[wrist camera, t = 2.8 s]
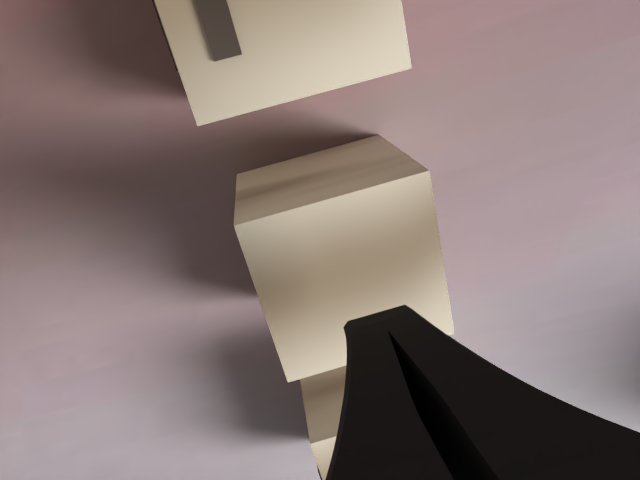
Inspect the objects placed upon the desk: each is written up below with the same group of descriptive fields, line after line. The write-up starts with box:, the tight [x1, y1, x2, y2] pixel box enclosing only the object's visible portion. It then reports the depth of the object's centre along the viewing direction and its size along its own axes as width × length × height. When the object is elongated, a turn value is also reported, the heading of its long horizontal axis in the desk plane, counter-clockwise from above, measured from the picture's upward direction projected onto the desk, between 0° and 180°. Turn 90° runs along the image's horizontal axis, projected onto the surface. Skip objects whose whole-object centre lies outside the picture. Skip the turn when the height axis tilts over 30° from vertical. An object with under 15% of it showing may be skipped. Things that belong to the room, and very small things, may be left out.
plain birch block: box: [234, 135, 454, 382], centre depth 15 cm, size 5×5×5 cm
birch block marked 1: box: [300, 366, 346, 480], centre depth 18 cm, size 5×5×5 cm
